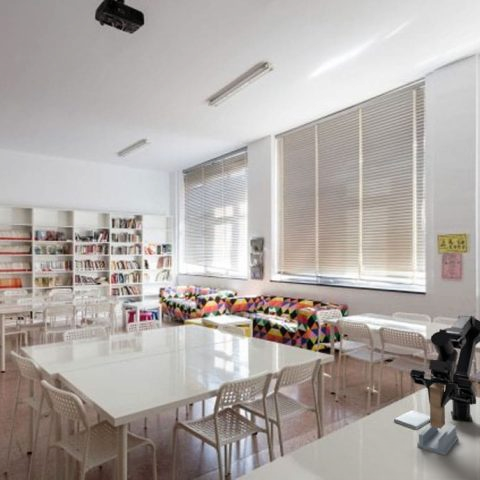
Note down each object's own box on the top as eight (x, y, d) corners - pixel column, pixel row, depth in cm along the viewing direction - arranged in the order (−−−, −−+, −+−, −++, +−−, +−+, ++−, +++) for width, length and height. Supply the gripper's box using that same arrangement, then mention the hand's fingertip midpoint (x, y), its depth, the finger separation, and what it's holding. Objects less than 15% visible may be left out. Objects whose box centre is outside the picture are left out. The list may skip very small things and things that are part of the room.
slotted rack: (432, 431, 136) (432, 419, 136) (458, 438, 130) (457, 426, 130) (417, 446, 126) (417, 433, 126) (444, 455, 120) (444, 441, 120)
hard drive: (415, 426, 137) (433, 416, 145) (393, 418, 144) (411, 409, 151) (416, 431, 137) (433, 421, 145) (393, 423, 144) (411, 413, 151)
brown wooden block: (435, 421, 131) (434, 382, 131) (445, 424, 129) (444, 385, 129) (430, 425, 128) (429, 386, 128) (440, 428, 125) (439, 388, 126)
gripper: (411, 345, 138) (399, 385, 130) (472, 354, 125) (463, 400, 117) (419, 362, 143) (408, 402, 135) (479, 373, 131) (470, 418, 122)
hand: (435, 405), depth 127 cm, fingers closed on brown wooden block, 3 cm apart
